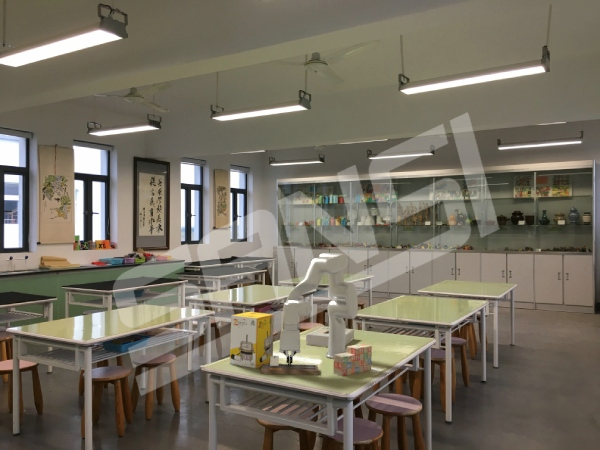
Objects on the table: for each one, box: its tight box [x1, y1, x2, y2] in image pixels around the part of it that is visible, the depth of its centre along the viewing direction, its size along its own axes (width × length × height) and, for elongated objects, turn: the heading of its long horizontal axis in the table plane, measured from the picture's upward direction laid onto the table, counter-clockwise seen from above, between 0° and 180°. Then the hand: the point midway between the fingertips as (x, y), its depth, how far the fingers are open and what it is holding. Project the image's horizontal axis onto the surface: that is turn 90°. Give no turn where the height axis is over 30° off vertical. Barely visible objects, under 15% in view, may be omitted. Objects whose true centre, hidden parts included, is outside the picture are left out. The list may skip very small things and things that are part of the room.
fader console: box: [260, 363, 320, 376], centre depth 238 cm, size 28×10×3 cm, turn 92°
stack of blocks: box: [333, 343, 373, 377], centre depth 242 cm, size 21×6×12 cm, turn 131°
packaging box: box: [229, 311, 275, 369], centre depth 254 cm, size 16×16×25 cm
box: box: [305, 326, 355, 348], centre depth 312 cm, size 23×8×32 cm
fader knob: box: [269, 355, 279, 366], centre depth 238 cm, size 4×5×5 cm
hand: (289, 364), depth 239 cm, fingers closed
